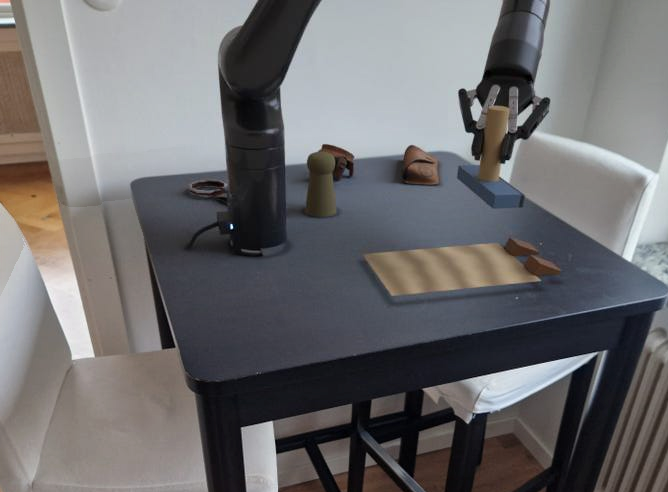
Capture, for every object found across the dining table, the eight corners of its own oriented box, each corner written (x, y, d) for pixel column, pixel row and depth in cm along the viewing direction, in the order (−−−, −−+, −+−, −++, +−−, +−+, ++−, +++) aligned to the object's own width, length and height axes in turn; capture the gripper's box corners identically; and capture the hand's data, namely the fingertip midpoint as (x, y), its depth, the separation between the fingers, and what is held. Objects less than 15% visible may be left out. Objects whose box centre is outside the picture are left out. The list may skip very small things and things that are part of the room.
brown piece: (299, 177, 147) (312, 141, 146) (336, 193, 151) (349, 158, 150) (320, 179, 136) (334, 140, 135) (359, 196, 141) (372, 158, 140)
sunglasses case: (441, 183, 144) (428, 155, 141) (412, 198, 146) (398, 171, 143) (439, 159, 159) (427, 133, 156) (412, 173, 161) (400, 148, 158)
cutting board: (391, 305, 97) (391, 295, 97) (361, 262, 110) (361, 254, 109) (539, 289, 103) (541, 280, 103) (496, 250, 115) (497, 242, 115)
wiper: (492, 208, 94) (506, 120, 88) (456, 178, 106) (466, 97, 99) (522, 207, 95) (539, 119, 89) (483, 177, 107) (495, 97, 100)
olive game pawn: (332, 218, 126) (333, 159, 120) (301, 215, 127) (300, 156, 121) (339, 207, 131) (340, 150, 125) (309, 204, 132) (309, 147, 126)
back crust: (512, 255, 110) (518, 244, 109) (503, 247, 113) (509, 236, 112) (534, 262, 112) (539, 251, 111) (524, 254, 115) (530, 243, 114)
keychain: (252, 215, 126) (252, 205, 124) (180, 193, 135) (179, 183, 133) (279, 204, 131) (279, 194, 130) (208, 184, 140) (208, 174, 139)
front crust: (533, 274, 104) (540, 263, 103) (523, 265, 107) (530, 254, 106) (555, 282, 106) (562, 271, 105) (545, 273, 108) (551, 262, 108)
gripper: (466, 32, 97) (439, 138, 94) (566, 40, 94) (542, 151, 91) (467, 66, 105) (442, 166, 101) (560, 75, 101) (538, 179, 98)
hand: (489, 158), depth 96 cm, fingers closed on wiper, 3 cm apart
